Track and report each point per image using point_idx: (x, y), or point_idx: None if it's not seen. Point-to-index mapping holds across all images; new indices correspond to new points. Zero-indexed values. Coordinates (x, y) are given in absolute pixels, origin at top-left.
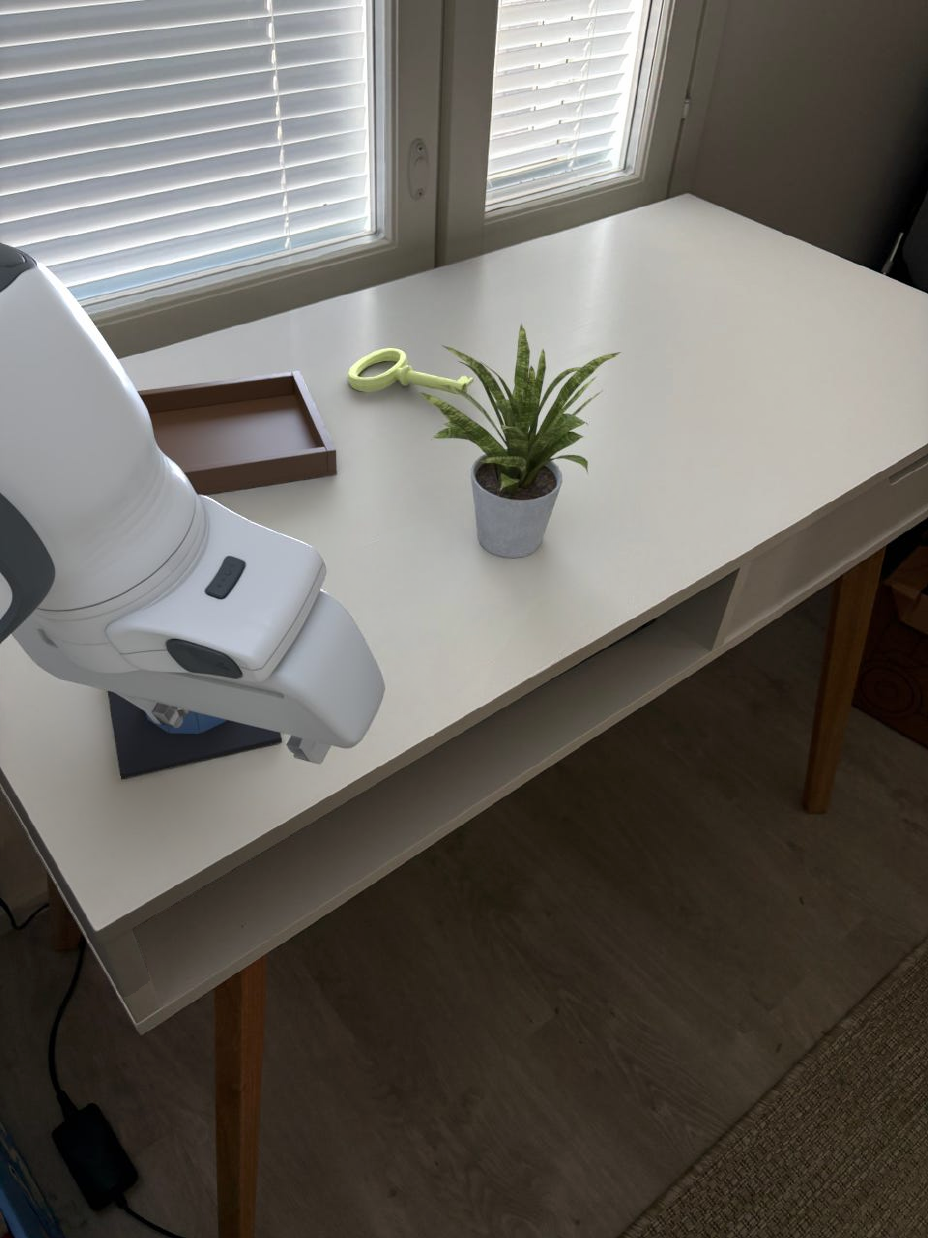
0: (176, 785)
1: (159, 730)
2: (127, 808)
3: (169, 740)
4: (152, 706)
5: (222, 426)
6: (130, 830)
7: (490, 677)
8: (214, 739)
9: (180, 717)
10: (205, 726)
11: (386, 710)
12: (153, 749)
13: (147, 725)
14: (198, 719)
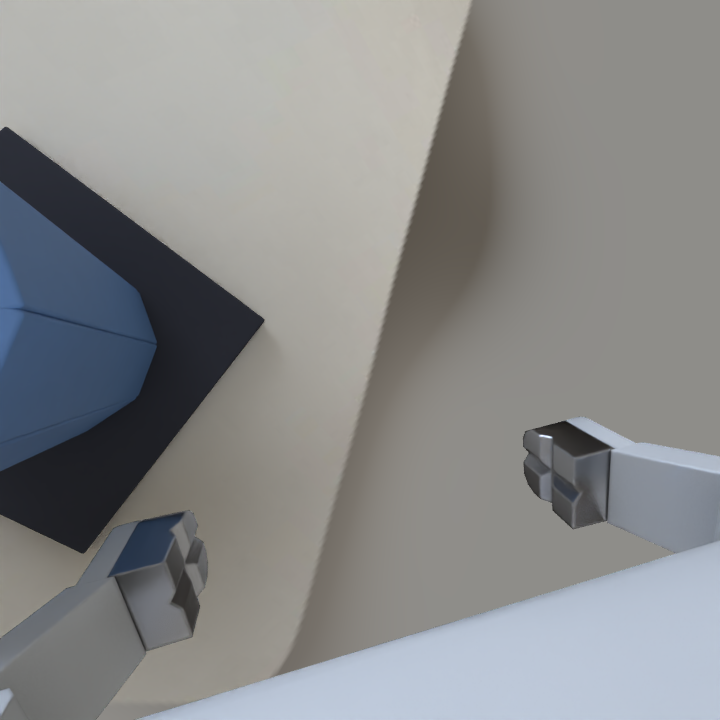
0: (183, 488)
1: None
2: None
3: (98, 443)
4: (135, 650)
5: None
6: None
7: (429, 52)
8: (170, 389)
9: (197, 552)
10: (139, 386)
11: (350, 181)
12: (89, 476)
13: None
14: (128, 398)
